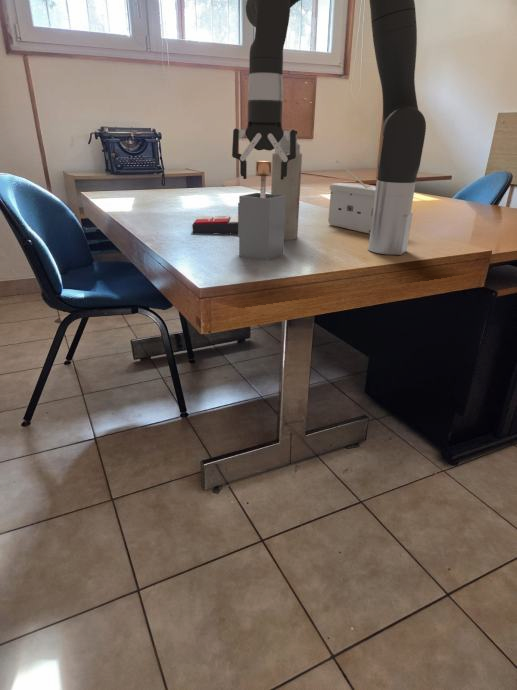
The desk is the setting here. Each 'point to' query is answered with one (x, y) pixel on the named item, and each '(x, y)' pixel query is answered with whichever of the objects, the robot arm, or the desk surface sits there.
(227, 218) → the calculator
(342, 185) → the stereo radio cassette player
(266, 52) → the robot arm
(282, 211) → the grey hexagonal pencil cup
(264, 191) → the plunger
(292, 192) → the thermos bottle
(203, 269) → the desk surface
